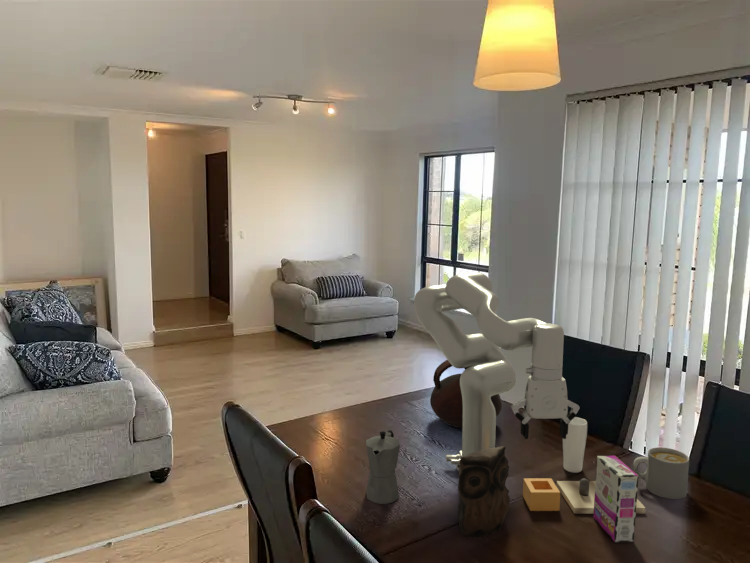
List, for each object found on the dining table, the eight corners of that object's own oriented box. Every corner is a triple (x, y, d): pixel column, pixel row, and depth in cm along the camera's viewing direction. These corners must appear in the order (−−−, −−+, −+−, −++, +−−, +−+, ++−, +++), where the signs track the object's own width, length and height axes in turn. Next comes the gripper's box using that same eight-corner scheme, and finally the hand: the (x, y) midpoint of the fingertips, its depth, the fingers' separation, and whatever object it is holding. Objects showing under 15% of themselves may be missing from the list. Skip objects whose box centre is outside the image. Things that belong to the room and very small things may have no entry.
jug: (431, 408, 216) (432, 344, 213) (498, 411, 213) (500, 347, 210) (428, 434, 192) (429, 363, 189) (504, 438, 188) (506, 366, 185)
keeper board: (574, 513, 143) (575, 492, 142) (556, 486, 157) (557, 466, 156) (645, 513, 143) (646, 492, 142) (621, 486, 157) (622, 466, 156)
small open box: (530, 510, 144) (531, 492, 144) (522, 495, 152) (523, 478, 151) (559, 510, 144) (560, 492, 144) (550, 495, 152) (551, 478, 151)
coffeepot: (392, 511, 144) (393, 444, 142) (357, 505, 147) (357, 439, 145) (407, 482, 159) (408, 421, 156) (375, 478, 162) (375, 417, 159)
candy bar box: (635, 542, 131) (640, 475, 129) (614, 543, 130) (618, 476, 128) (611, 516, 142) (615, 454, 140) (592, 517, 141) (595, 454, 139)
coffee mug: (687, 486, 156) (690, 452, 155) (684, 502, 148) (687, 466, 147) (635, 474, 164) (637, 441, 162) (629, 489, 155) (632, 454, 154)
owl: (510, 519, 141) (512, 442, 138) (502, 547, 129) (504, 464, 126) (460, 509, 145) (461, 434, 142) (447, 535, 134) (449, 455, 131)
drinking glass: (586, 475, 163) (589, 426, 161) (562, 473, 164) (564, 424, 162) (582, 465, 169) (585, 417, 167) (559, 463, 171) (561, 415, 169)
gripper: (516, 377, 139) (514, 443, 142) (586, 376, 139) (582, 443, 142) (508, 368, 147) (506, 431, 149) (575, 368, 147) (572, 431, 149)
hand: (543, 436), depth 145 cm, fingers open, 9 cm apart
